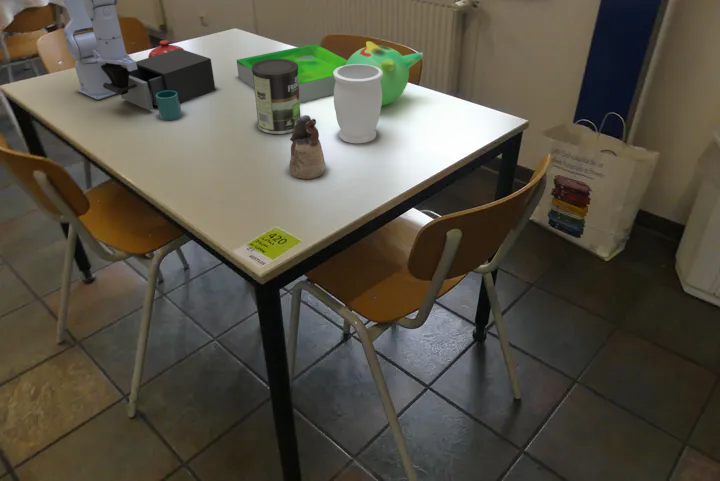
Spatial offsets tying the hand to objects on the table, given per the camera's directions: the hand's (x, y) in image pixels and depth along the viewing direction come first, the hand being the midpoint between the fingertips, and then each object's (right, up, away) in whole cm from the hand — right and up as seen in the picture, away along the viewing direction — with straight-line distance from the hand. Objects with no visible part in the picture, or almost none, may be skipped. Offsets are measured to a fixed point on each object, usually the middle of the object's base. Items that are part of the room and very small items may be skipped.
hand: (123, 93), depth 137 cm
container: (+12, -5, 0) cm, 13 cm away
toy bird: (+62, -1, +8) cm, 62 cm away
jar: (+57, -12, -8) cm, 59 cm away
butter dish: (+3, +13, +25) cm, 28 cm away
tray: (+41, +8, +19) cm, 46 cm away
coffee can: (+38, -9, -3) cm, 40 cm away
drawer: (+4, 0, +6) cm, 7 cm away
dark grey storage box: (+9, +3, +12) cm, 16 cm away
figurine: (+47, -22, -21) cm, 55 cm away
